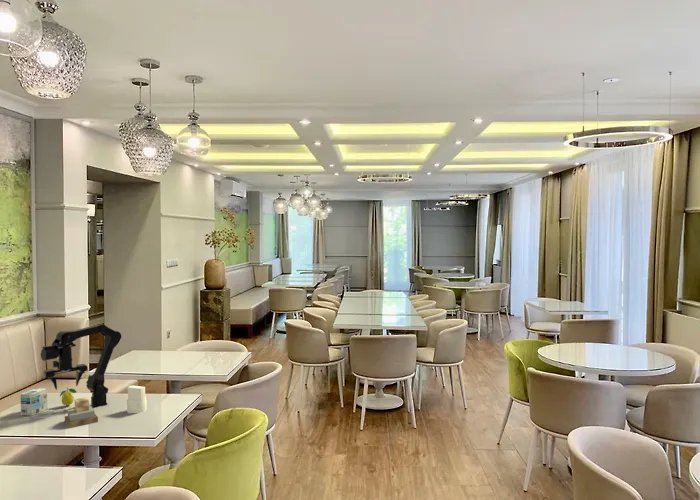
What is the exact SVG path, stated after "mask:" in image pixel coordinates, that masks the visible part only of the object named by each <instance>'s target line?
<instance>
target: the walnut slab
mask: <svg viewBox="0 0 700 500" xmlns="http://www.w3.org/2000/svg"><path fill="white" fill-rule="evenodd" d="M98 422H99V417H98V416H97V414H96V413H95V417H93V418H88V419H83V420H78V421H73V422H71V421H70V419H69V418H68V415H66V416H65V415H64V423H66V425H67V427H68V428H69V429H72V428H76V427H81V426H86V425H90V424H94V423H98Z"/></svg>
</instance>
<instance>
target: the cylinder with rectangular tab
mask: <svg viewBox="0 0 700 500" xmlns="http://www.w3.org/2000/svg"><path fill="white" fill-rule="evenodd" d="M147 404H148V403H147V396H146V387H145V386H138V385H129V386H128V387H127V400H126V406H127V407H126V408H127V409H126V410H127V413H128V414H130V413H137V414H141V413H140V412H142V413H144V412H146V411H147Z"/></svg>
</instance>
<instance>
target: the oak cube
mask: <svg viewBox="0 0 700 500" xmlns="http://www.w3.org/2000/svg"><path fill="white" fill-rule="evenodd" d="M73 402H74V409H75V411H76V412H77V413H78V412H82V411H87V410H89V406H90V404H89V402H90V401H89V399H88V398H87V397H86V396H85V397H81V398H75V399H74V400H73Z"/></svg>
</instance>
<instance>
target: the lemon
mask: <svg viewBox="0 0 700 500" xmlns="http://www.w3.org/2000/svg"><path fill="white" fill-rule="evenodd" d="M73 394H77V390H76V389H75V388H68V387H66V390H63V391H61V392H60V393H59V397H61V404H63V405H64V406H66V407H69V406H71V405H72V404H73V402H74V400H75V399H74V395H73Z"/></svg>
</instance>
